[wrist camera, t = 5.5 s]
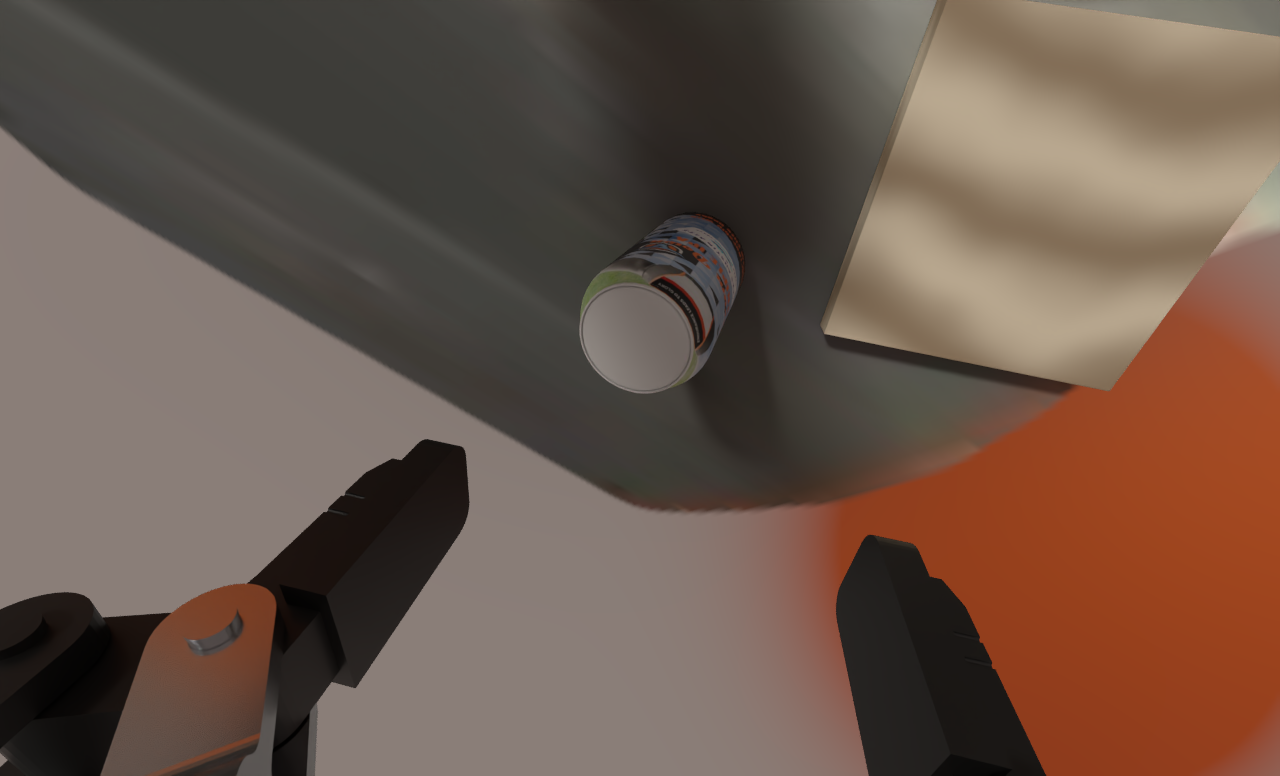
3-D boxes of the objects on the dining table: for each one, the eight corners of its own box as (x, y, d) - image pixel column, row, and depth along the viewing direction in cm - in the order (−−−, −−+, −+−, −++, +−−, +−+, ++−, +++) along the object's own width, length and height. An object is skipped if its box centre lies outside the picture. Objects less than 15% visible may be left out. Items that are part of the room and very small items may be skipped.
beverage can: (760, 284, 29) (774, 371, 19) (654, 332, 32) (615, 432, 21) (716, 185, 27) (705, 221, 17) (607, 245, 30) (537, 310, 19)
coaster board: (938, -2, 22) (950, -11, 20) (1322, 53, 20) (1362, 48, 19) (820, 324, 30) (824, 333, 28) (1092, 379, 28) (1109, 391, 27)
